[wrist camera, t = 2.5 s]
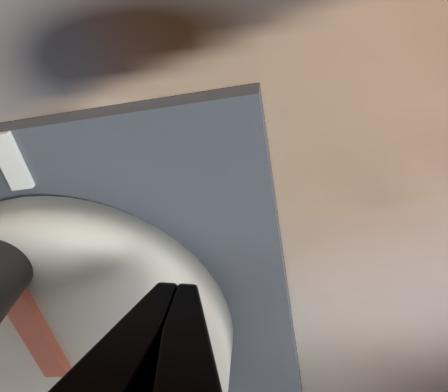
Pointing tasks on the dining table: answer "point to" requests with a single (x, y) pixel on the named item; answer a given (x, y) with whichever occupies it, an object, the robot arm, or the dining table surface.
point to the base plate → (180, 200)
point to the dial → (85, 285)
